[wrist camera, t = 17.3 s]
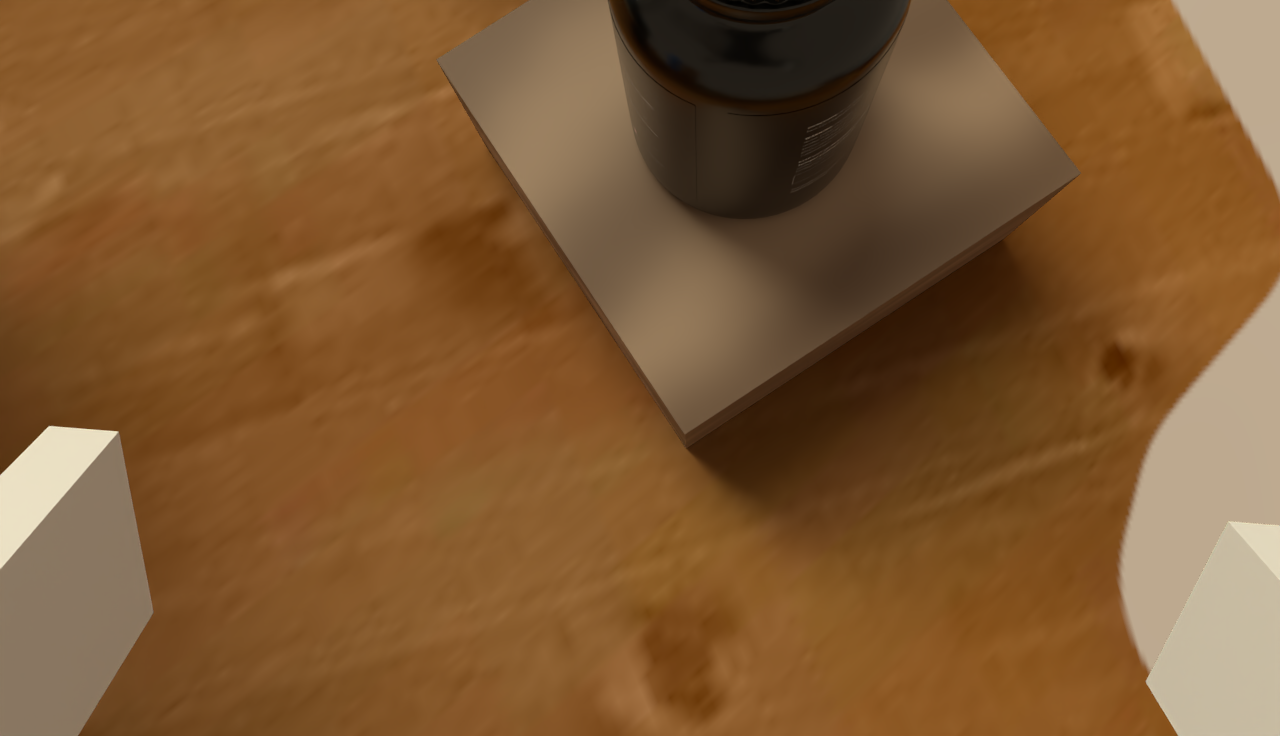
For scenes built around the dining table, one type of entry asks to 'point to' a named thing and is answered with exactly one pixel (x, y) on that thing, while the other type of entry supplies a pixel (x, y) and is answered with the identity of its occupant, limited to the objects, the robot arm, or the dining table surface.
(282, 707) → the dining table surface
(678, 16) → the supplement bottle
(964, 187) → the walnut riser block
